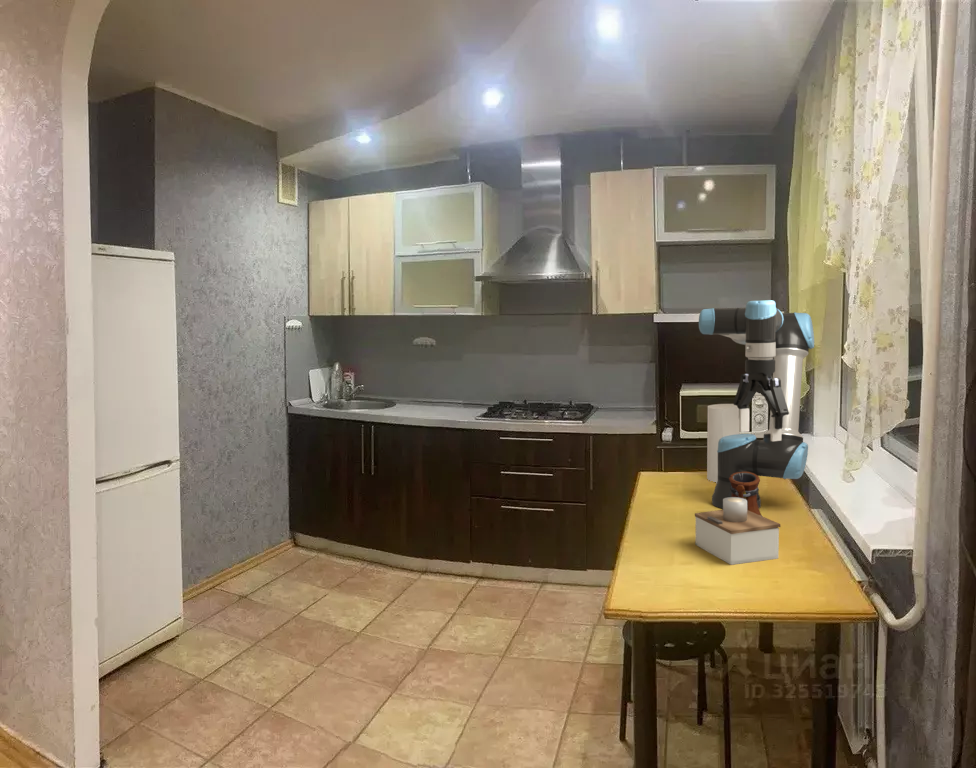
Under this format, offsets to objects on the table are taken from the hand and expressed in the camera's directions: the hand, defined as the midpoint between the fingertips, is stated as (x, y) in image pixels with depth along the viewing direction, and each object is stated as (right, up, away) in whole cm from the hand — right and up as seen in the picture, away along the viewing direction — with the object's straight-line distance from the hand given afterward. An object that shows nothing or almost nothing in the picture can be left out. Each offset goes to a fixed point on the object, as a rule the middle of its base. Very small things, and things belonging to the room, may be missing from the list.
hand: (759, 436), depth 183 cm
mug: (+2, -28, +17) cm, 33 cm away
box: (-8, -30, -4) cm, 32 cm away
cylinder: (+19, -22, +73) cm, 79 cm away
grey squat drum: (-9, -21, -5) cm, 24 cm away
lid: (-8, -22, -5) cm, 24 cm away
